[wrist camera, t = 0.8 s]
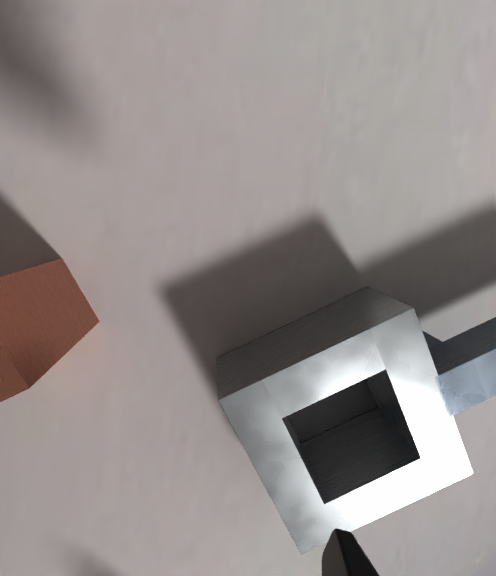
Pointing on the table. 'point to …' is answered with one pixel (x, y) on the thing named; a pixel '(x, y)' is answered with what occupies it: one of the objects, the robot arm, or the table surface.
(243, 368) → the square frame with handle
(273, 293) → the table surface
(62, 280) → the square peg
